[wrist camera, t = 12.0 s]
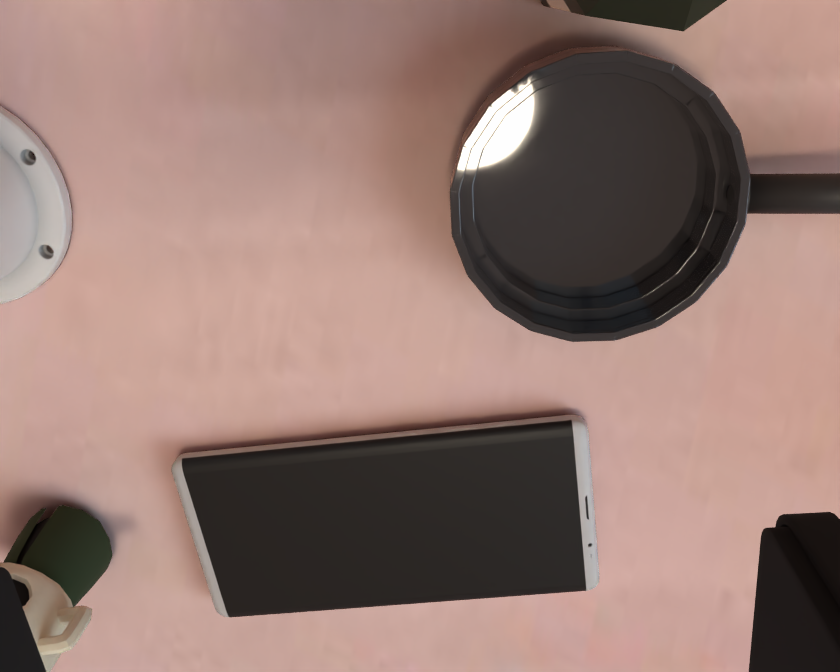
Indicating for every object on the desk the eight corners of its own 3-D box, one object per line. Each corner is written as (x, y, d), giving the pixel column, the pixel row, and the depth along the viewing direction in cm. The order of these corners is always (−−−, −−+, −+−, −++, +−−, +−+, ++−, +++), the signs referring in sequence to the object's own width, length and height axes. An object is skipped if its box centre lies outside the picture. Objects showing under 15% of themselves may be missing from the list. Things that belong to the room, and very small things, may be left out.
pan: (457, 317, 48) (456, 345, 44) (446, 54, 42) (443, 61, 38) (712, 308, 47) (734, 337, 43) (737, 37, 41) (765, 42, 37)
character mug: (126, 484, 54) (29, 622, 42) (161, 566, 57) (79, 718, 45) (-17, 507, 56) (-149, 647, 44) (24, 586, 59) (-90, 738, 47)
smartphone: (174, 448, 53) (165, 462, 51) (584, 407, 50) (588, 421, 48) (223, 604, 58) (216, 622, 57) (597, 575, 55) (601, 593, 54)
